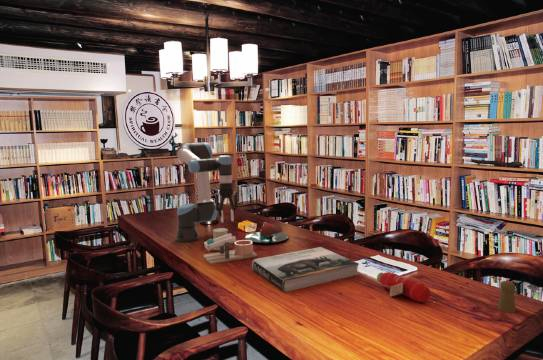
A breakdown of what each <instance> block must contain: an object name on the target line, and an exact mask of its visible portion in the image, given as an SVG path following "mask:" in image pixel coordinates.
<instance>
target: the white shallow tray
mask: <svg viewBox="0 0 543 360" xmlns="http://www.w3.org/2000/svg"><path fill="white" fill-rule="evenodd" d="M212 239H213V238H212ZM213 240H214V243H212V244H209V245H208V244H207V241H208V240H206V241H204V242H203V245H204V248H205V249H206V250H207V252H211V251H212V250H214V249H216V248H219V247H222V246H225V243H226V242H229V245H231V244H233V243H235V242H236V241H237V238H236V236H235V235H234V236H233V234H232V233H228V234H226V235H223V236H221V237H218V238H215V239H213Z"/></svg>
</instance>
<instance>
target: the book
mask: <svg viewBox="0 0 543 360" xmlns="http://www.w3.org/2000/svg"><path fill="white" fill-rule="evenodd" d="M251 262H252V263H251V268H252V270H253V271H254V272H255V273H257V274H258V275H260V276H261V277H263V278H264V279H265V280H267V281H268V282H269V283H271V284H272V285H274V286H275V287H276V288H278V289H280V290H281V291H282V292H284V293H286V292H290V291H294V290H298V289H299V290H300V289H304V288H308V287H311V286H312V287H313V286H316V285H320V284H321V285H322V284H325V283H329V282H332V281H333V280H334V281H337V279H338V280H341V278H342V279H345V278H350V277H354V275H355V276H358V275H359V272H358V267H359V265H360V263H359V262H356V261H355V260H352V259H350V258H347V257H345V256H342V255H340V254H338V253H336V252H333V251H331V250H328V249H326V248H324V247H322V246H319V247H314V248H308V249H303V250H297V251H291V252H286V253H281V254H277V255H270V256H264V257H260V258H255V259H253V260H252V261H251Z"/></svg>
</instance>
